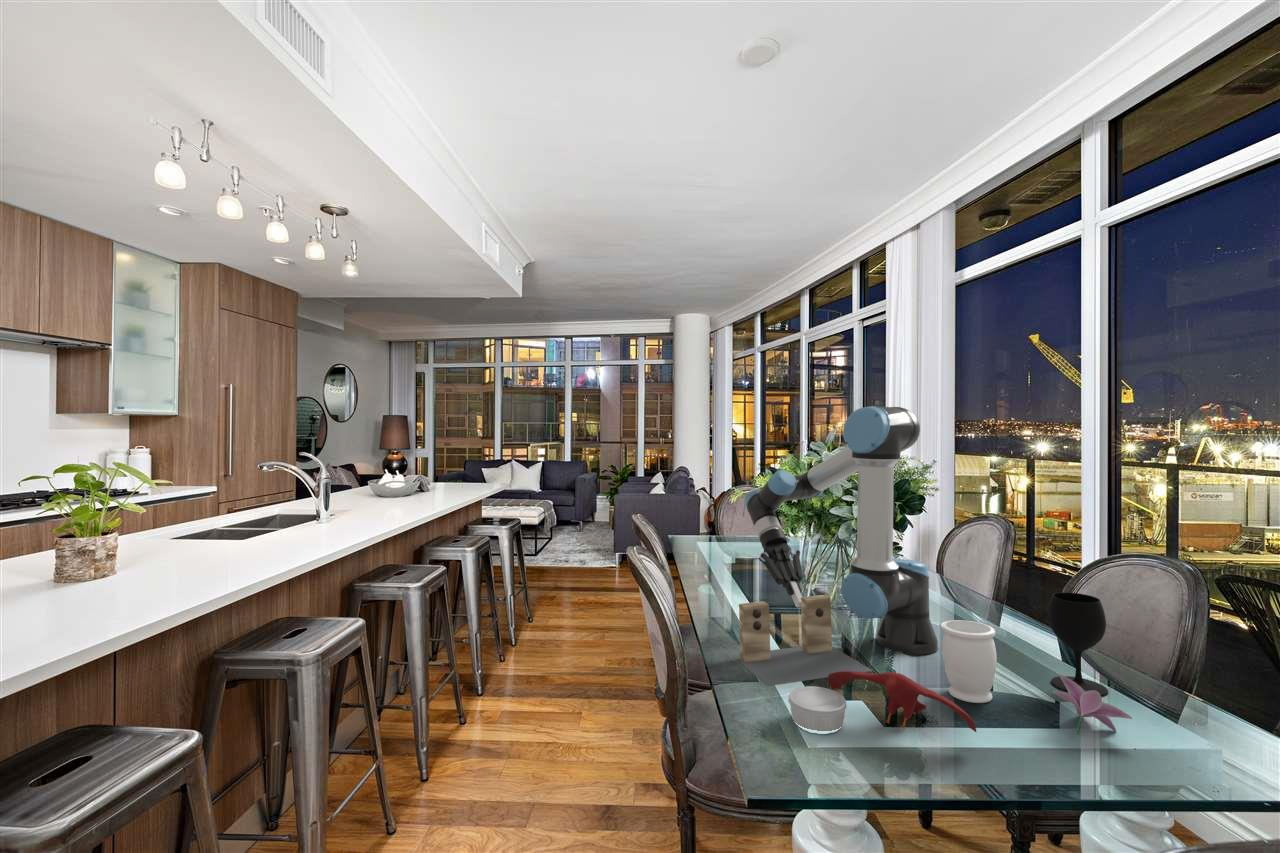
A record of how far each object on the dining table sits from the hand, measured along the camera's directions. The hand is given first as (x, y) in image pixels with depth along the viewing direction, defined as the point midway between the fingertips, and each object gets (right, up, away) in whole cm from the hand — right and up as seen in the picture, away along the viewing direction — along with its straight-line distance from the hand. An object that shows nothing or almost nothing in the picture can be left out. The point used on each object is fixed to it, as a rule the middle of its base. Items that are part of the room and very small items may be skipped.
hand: (800, 604), depth 164 cm
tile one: (+2, -10, -8) cm, 13 cm away
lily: (+42, -9, -50) cm, 66 cm away
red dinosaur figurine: (+8, -10, -46) cm, 48 cm away
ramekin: (-9, -10, -46) cm, 48 cm away
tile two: (-15, -10, -12) cm, 22 cm away
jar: (+28, -10, -35) cm, 46 cm away
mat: (-4, -11, -16) cm, 19 cm away
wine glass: (+54, -9, -32) cm, 63 cm away
